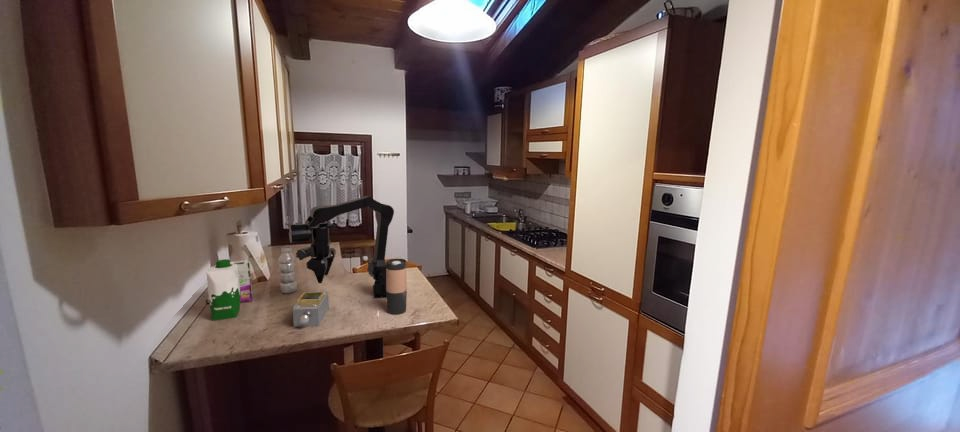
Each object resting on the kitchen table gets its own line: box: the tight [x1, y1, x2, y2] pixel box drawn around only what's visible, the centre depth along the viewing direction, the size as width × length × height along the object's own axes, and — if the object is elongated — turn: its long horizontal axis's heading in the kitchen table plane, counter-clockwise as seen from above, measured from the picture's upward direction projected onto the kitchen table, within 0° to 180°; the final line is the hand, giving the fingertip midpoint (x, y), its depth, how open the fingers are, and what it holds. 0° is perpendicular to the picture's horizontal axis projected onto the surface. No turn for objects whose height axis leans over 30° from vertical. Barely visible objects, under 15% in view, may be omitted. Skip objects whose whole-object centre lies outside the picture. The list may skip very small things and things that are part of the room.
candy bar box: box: [214, 259, 254, 303], centre depth 134 cm, size 11×5×16 cm, turn 123°
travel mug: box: [385, 258, 408, 316], centre depth 129 cm, size 8×8×20 cm
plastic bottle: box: [278, 245, 298, 294], centre depth 145 cm, size 6×7×20 cm
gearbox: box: [292, 290, 330, 328], centre depth 121 cm, size 8×16×8 cm, turn 11°
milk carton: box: [206, 258, 241, 321], centre depth 122 cm, size 9×9×20 cm
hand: (323, 279), depth 130 cm, fingers open, 9 cm apart
